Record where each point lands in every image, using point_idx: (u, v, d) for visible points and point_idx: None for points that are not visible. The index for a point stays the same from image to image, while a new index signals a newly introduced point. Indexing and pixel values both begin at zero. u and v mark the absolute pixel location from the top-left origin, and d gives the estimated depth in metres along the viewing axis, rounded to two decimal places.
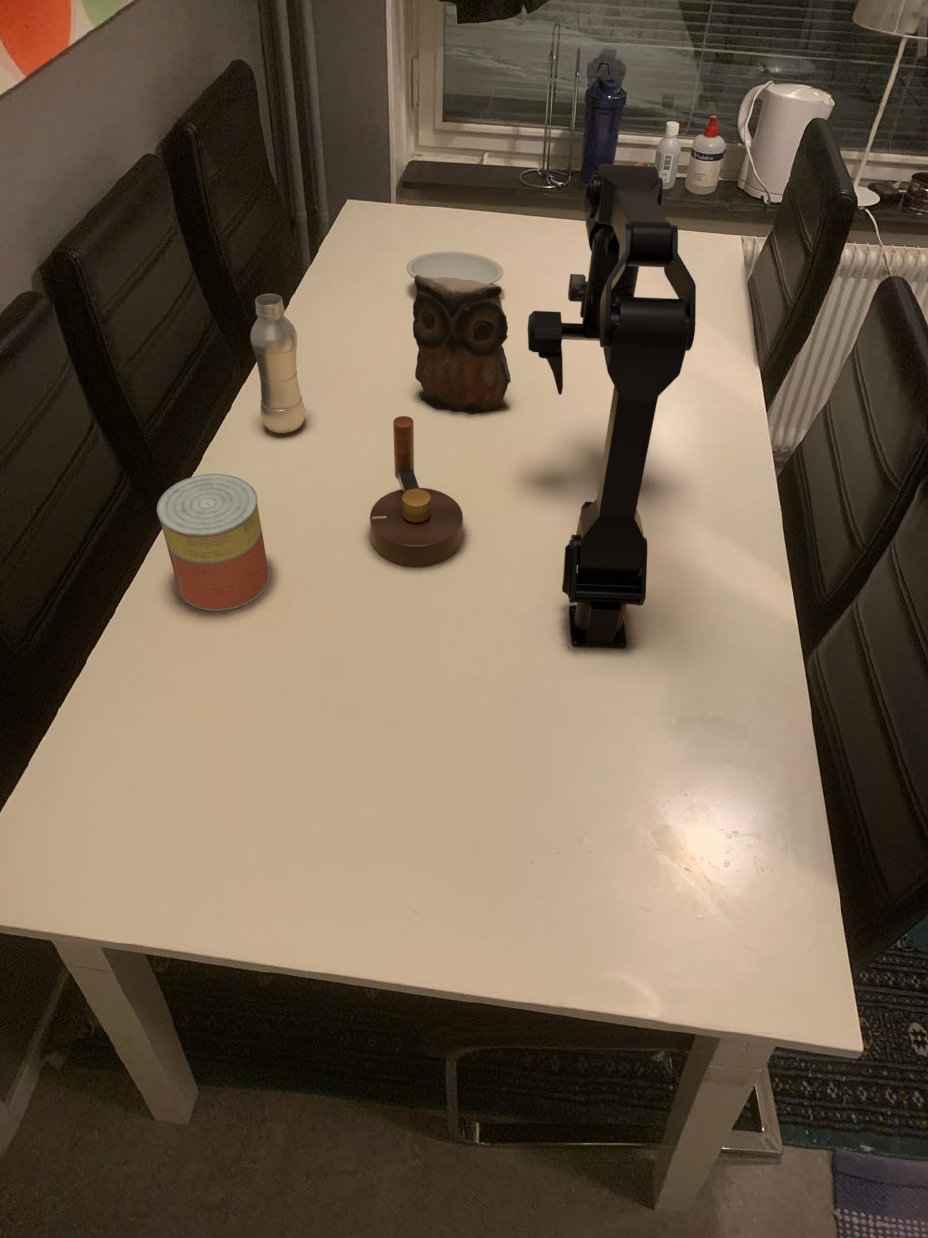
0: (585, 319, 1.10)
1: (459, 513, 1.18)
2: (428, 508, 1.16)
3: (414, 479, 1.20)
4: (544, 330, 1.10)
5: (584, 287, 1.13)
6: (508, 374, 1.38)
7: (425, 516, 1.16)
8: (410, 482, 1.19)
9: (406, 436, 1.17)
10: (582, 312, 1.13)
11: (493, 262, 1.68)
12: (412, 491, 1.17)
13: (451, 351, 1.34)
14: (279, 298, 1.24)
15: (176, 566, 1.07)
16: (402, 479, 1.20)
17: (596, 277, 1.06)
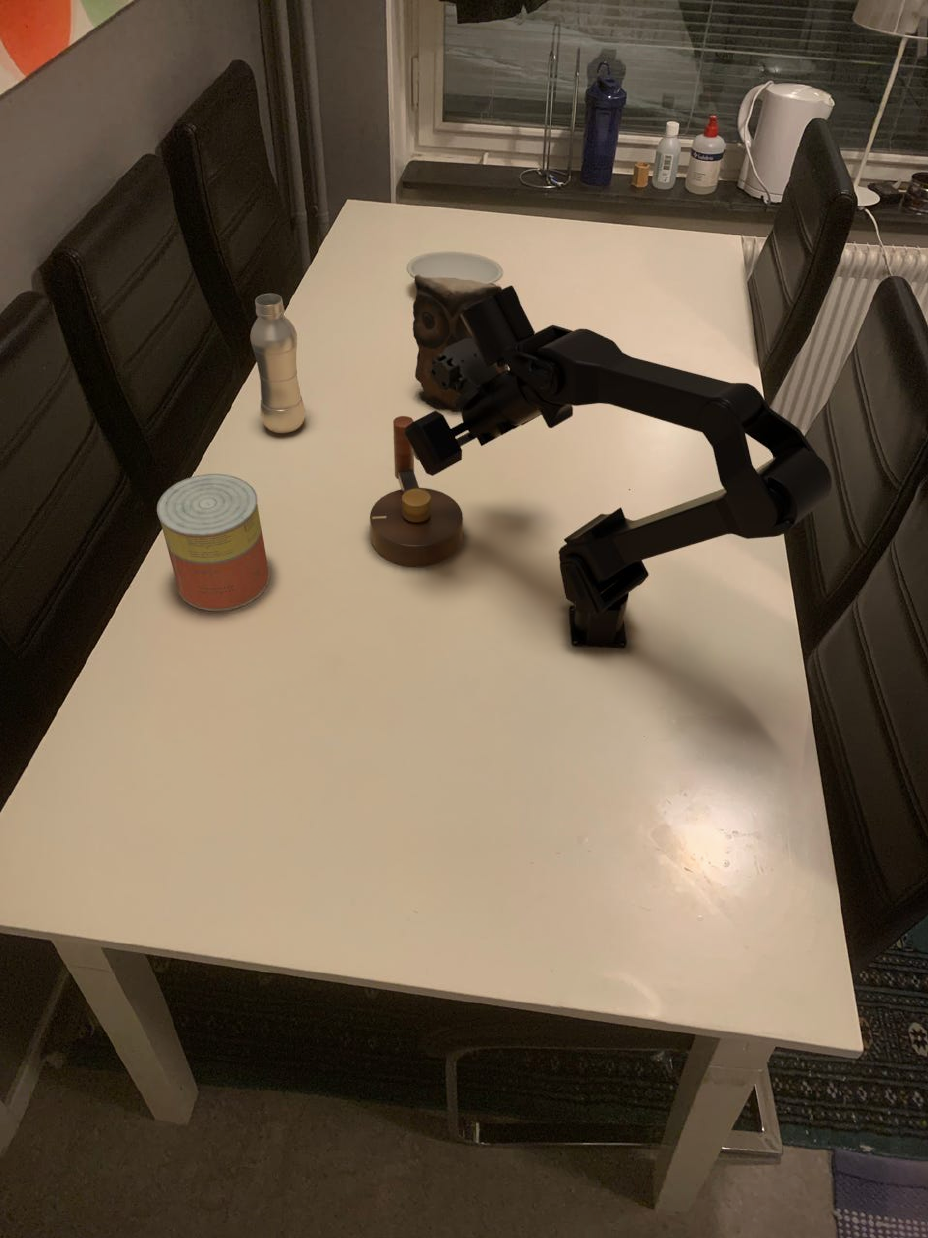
0: (478, 429, 1.03)
1: (459, 513, 1.18)
2: (428, 508, 1.16)
3: (414, 479, 1.20)
4: (448, 459, 1.01)
5: (463, 381, 1.00)
6: None
7: (425, 516, 1.16)
8: (410, 482, 1.19)
9: None
10: (462, 407, 1.02)
11: (493, 262, 1.68)
12: (412, 491, 1.17)
13: None
14: (279, 298, 1.24)
15: (176, 566, 1.07)
16: (402, 479, 1.20)
17: (513, 418, 0.98)
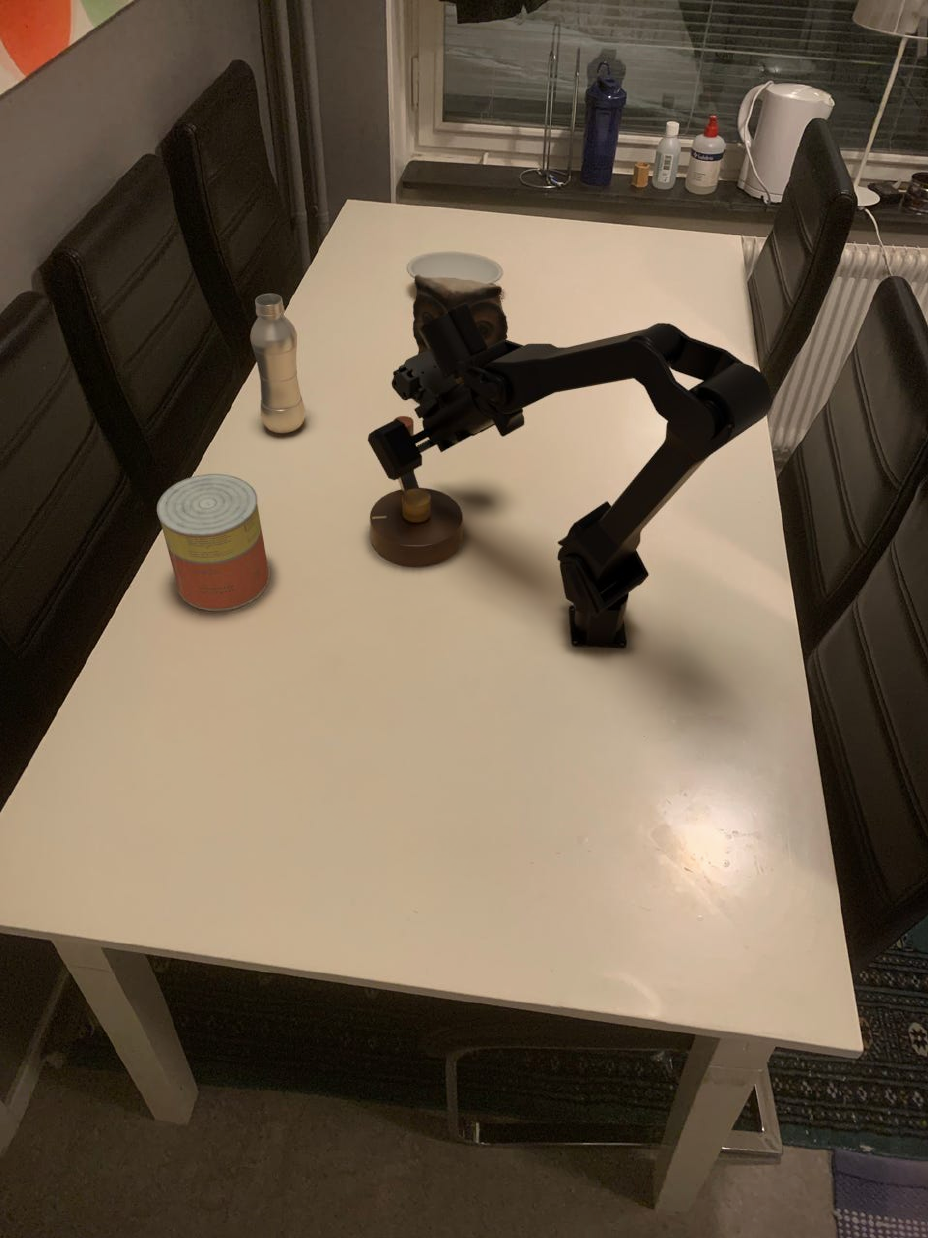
0: (437, 436, 1.09)
1: (459, 513, 1.18)
2: (428, 508, 1.16)
3: (414, 479, 1.20)
4: (408, 465, 1.07)
5: (422, 392, 1.07)
6: None
7: (425, 516, 1.16)
8: (410, 482, 1.19)
9: None
10: (422, 416, 1.09)
11: (493, 262, 1.68)
12: (412, 491, 1.17)
13: None
14: (279, 298, 1.24)
15: (176, 566, 1.07)
16: (402, 479, 1.20)
17: (468, 426, 1.04)
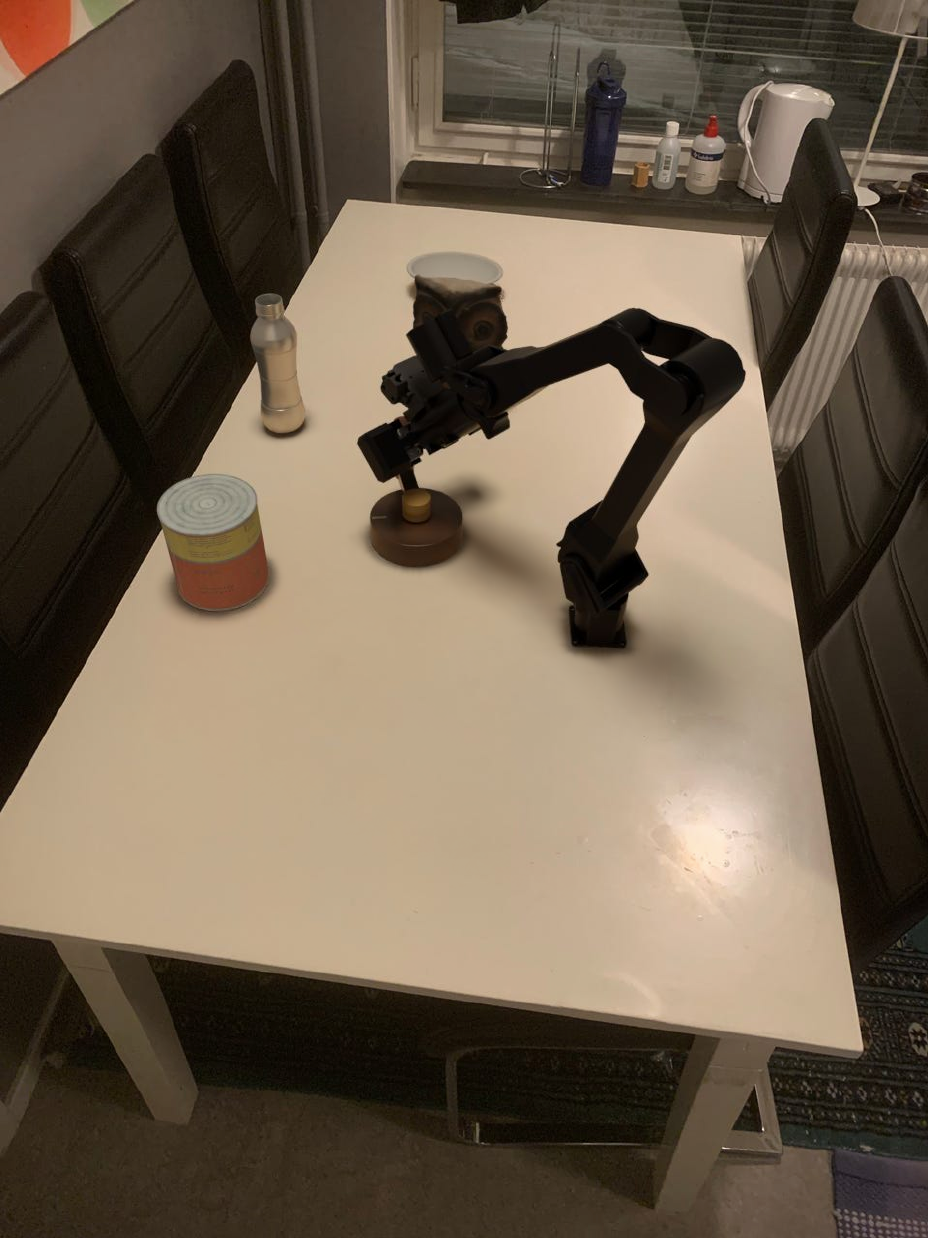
0: (425, 439, 1.11)
1: (459, 513, 1.18)
2: (428, 508, 1.16)
3: (414, 479, 1.20)
4: (397, 468, 1.09)
5: (410, 396, 1.09)
6: None
7: (425, 516, 1.16)
8: (410, 482, 1.19)
9: None
10: (411, 420, 1.11)
11: (493, 262, 1.68)
12: (412, 491, 1.17)
13: None
14: (279, 298, 1.24)
15: (176, 566, 1.07)
16: (402, 479, 1.20)
17: (455, 429, 1.06)
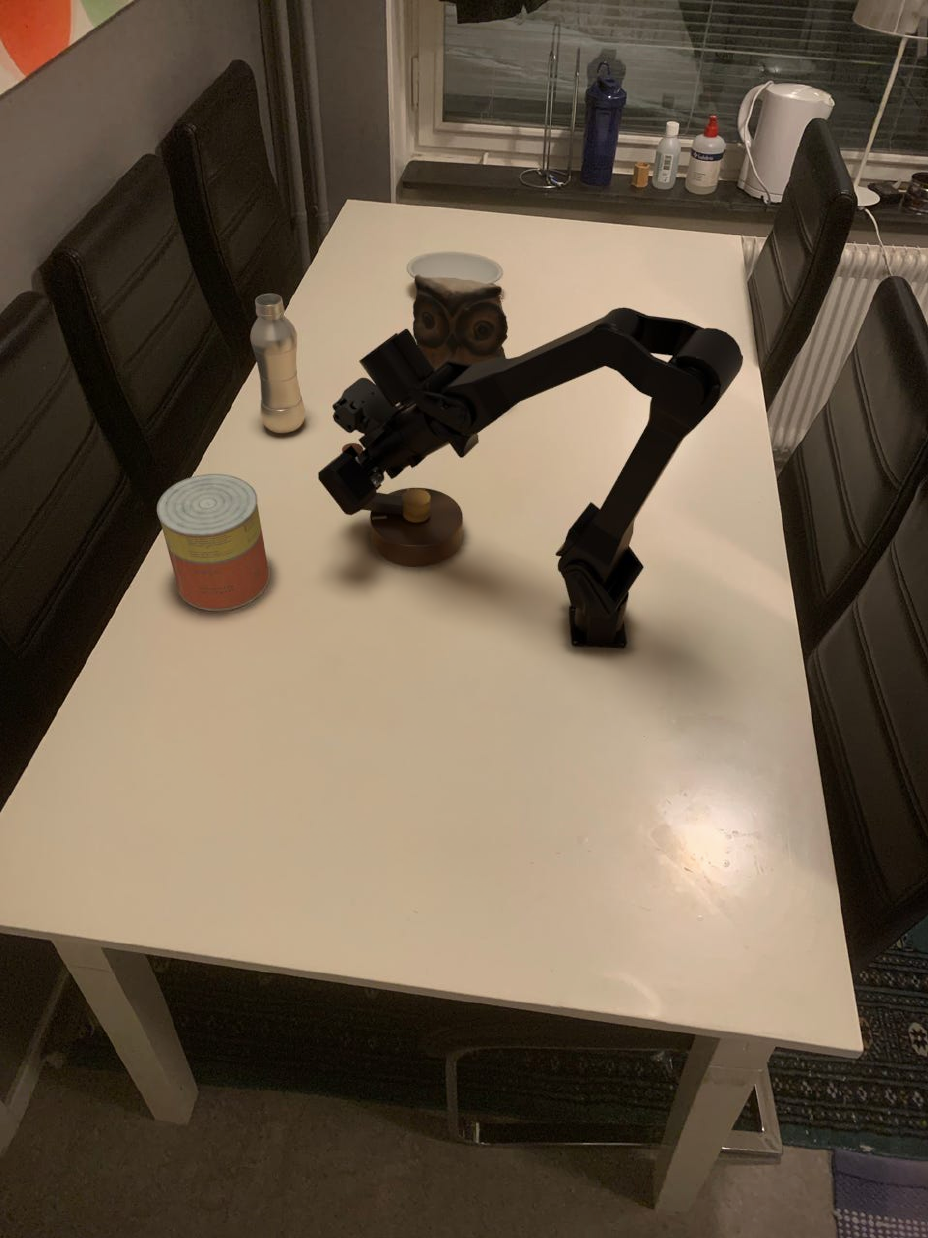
0: (387, 464, 1.07)
1: (459, 513, 1.18)
2: None
3: (380, 494, 1.17)
4: (365, 498, 1.05)
5: (367, 422, 1.04)
6: None
7: None
8: (383, 497, 1.17)
9: None
10: (368, 446, 1.06)
11: (493, 262, 1.68)
12: (406, 496, 1.16)
13: (451, 351, 1.34)
14: (279, 298, 1.24)
15: (176, 566, 1.07)
16: (375, 500, 1.16)
17: (422, 451, 1.03)
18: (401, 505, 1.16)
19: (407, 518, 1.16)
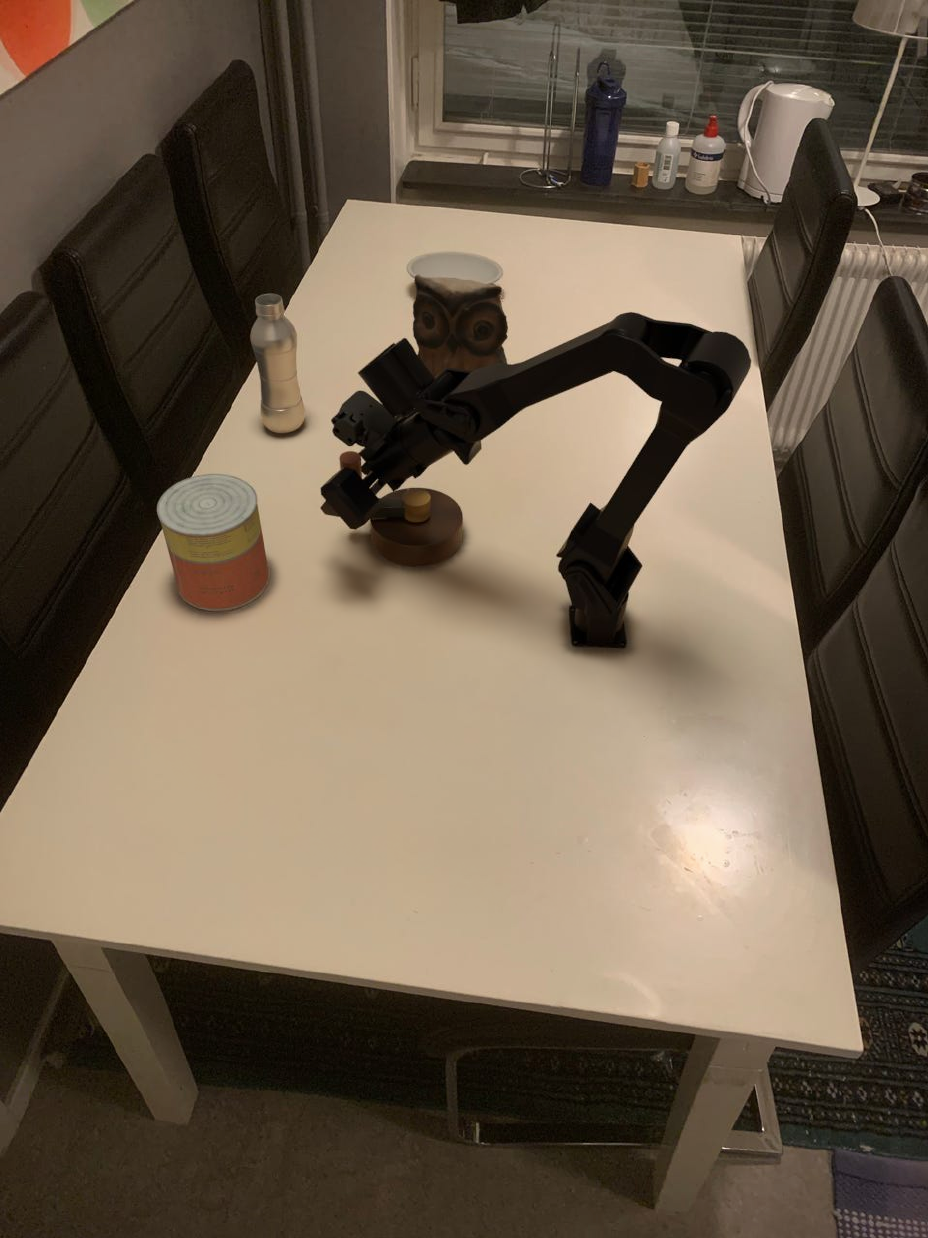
0: (389, 476, 1.05)
1: (459, 513, 1.18)
2: None
3: None
4: (369, 511, 1.03)
5: (367, 434, 1.03)
6: None
7: None
8: (382, 502, 1.16)
9: None
10: (369, 458, 1.05)
11: (493, 262, 1.68)
12: (406, 498, 1.16)
13: (451, 351, 1.34)
14: (279, 298, 1.24)
15: (176, 566, 1.07)
16: None
17: (425, 461, 1.02)
18: (402, 507, 1.16)
19: (410, 519, 1.16)
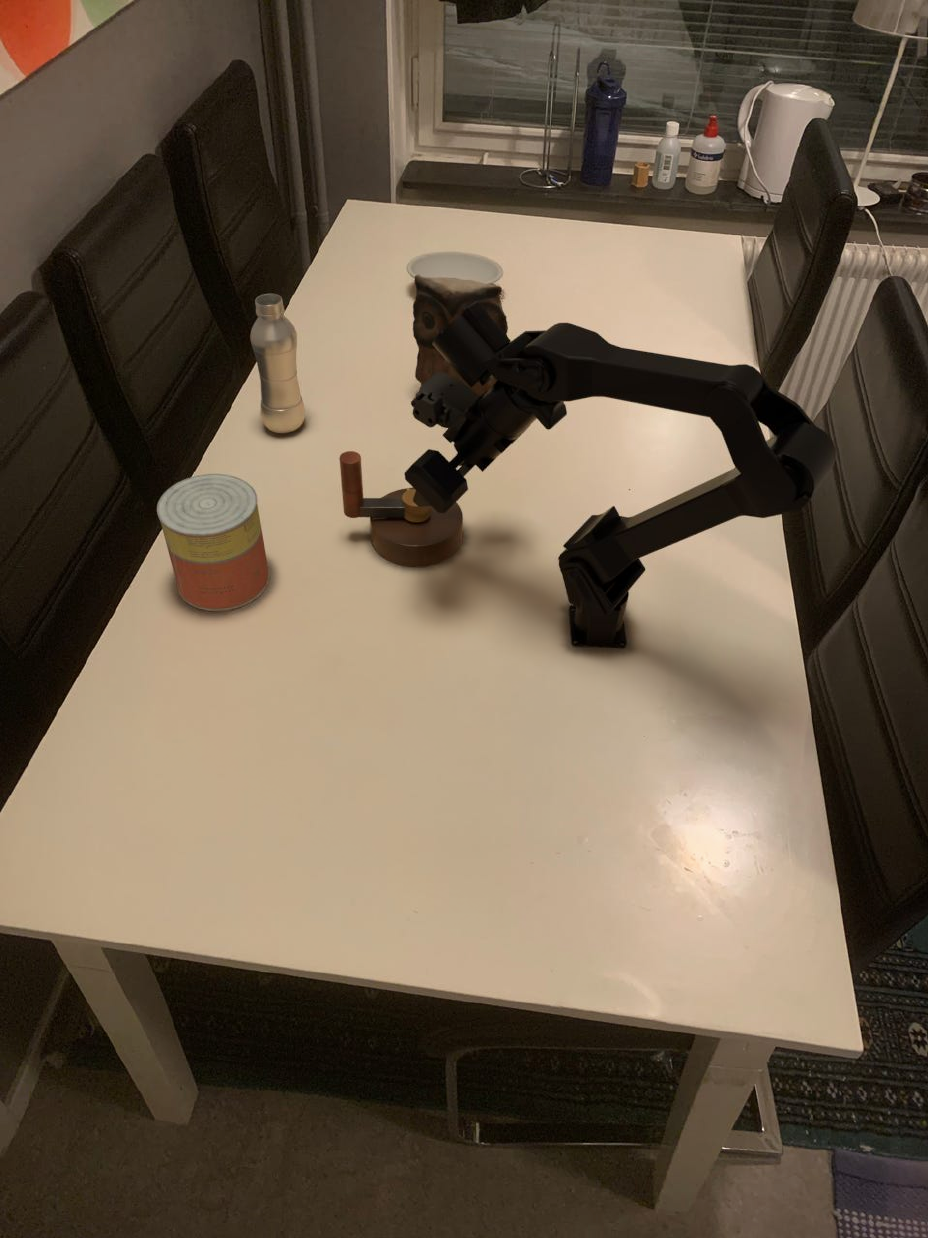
0: (475, 455, 1.00)
1: (459, 513, 1.18)
2: None
3: (378, 499, 1.17)
4: (456, 492, 0.98)
5: (448, 413, 0.99)
6: None
7: None
8: (382, 502, 1.16)
9: None
10: (453, 439, 1.00)
11: (493, 262, 1.68)
12: (406, 498, 1.16)
13: None
14: (279, 298, 1.24)
15: (176, 566, 1.07)
16: (375, 506, 1.16)
17: (508, 431, 0.96)
18: (402, 507, 1.16)
19: (410, 519, 1.16)
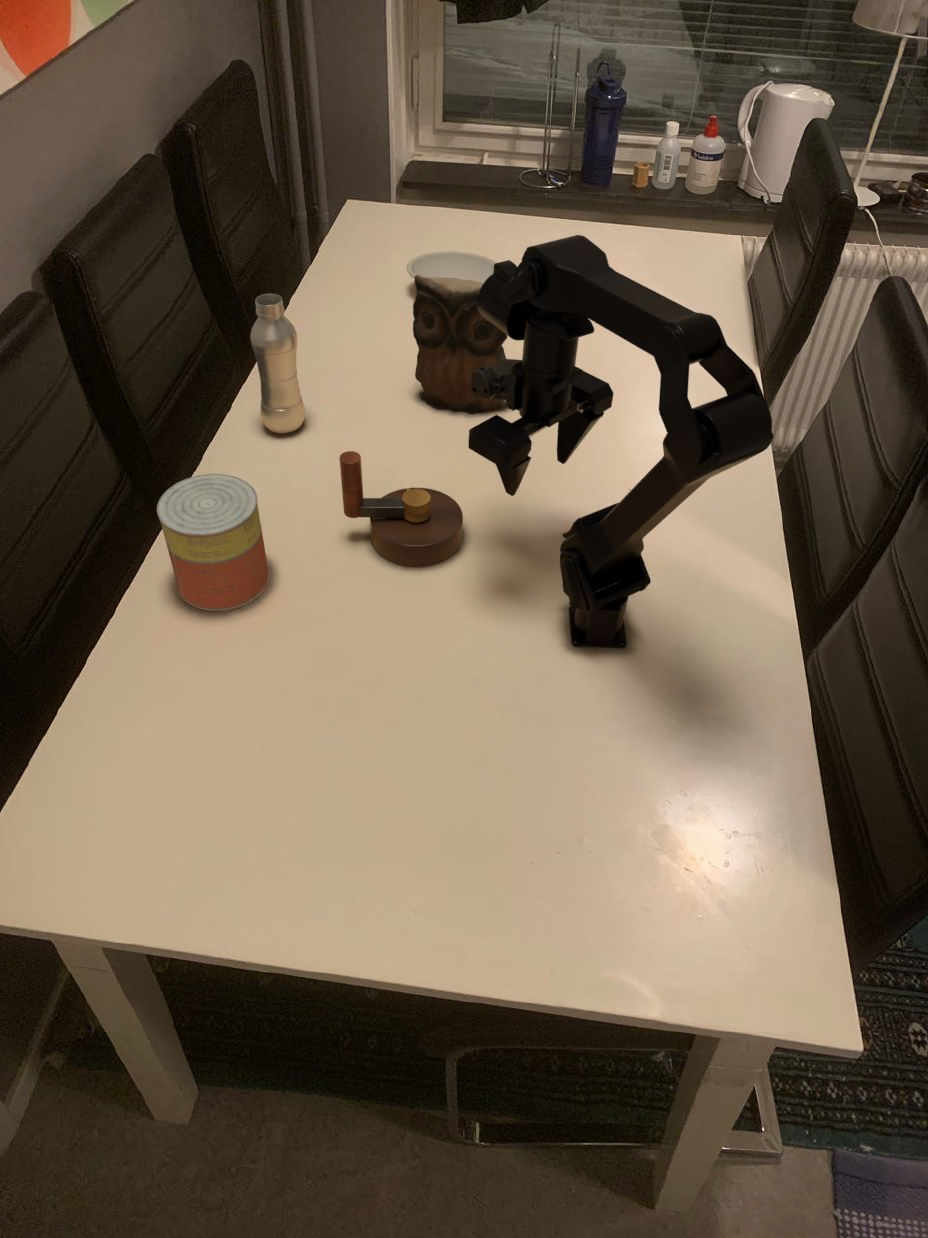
0: (535, 411, 0.99)
1: (459, 513, 1.18)
2: None
3: (378, 499, 1.17)
4: (513, 441, 0.97)
5: (501, 379, 1.00)
6: None
7: None
8: (382, 502, 1.16)
9: None
10: (515, 405, 1.01)
11: (493, 262, 1.68)
12: (406, 498, 1.16)
13: (451, 351, 1.34)
14: (279, 298, 1.24)
15: (176, 566, 1.07)
16: (375, 506, 1.16)
17: (543, 364, 0.95)
18: (402, 507, 1.16)
19: (410, 519, 1.16)
